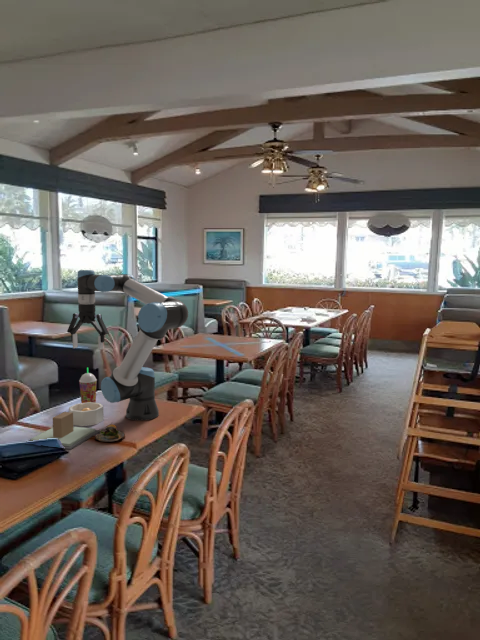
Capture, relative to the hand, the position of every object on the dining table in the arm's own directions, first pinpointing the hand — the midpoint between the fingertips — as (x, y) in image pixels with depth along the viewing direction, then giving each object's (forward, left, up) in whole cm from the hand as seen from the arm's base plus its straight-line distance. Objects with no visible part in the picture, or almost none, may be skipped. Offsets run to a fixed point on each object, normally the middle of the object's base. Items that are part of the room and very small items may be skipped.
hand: (88, 348), depth 226 cm
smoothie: (+7, -10, -32) cm, 34 cm away
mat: (-7, +30, -32) cm, 45 cm away
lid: (-7, +30, -31) cm, 44 cm away
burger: (-26, +26, -32) cm, 49 cm away
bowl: (-4, +9, -32) cm, 33 cm away
